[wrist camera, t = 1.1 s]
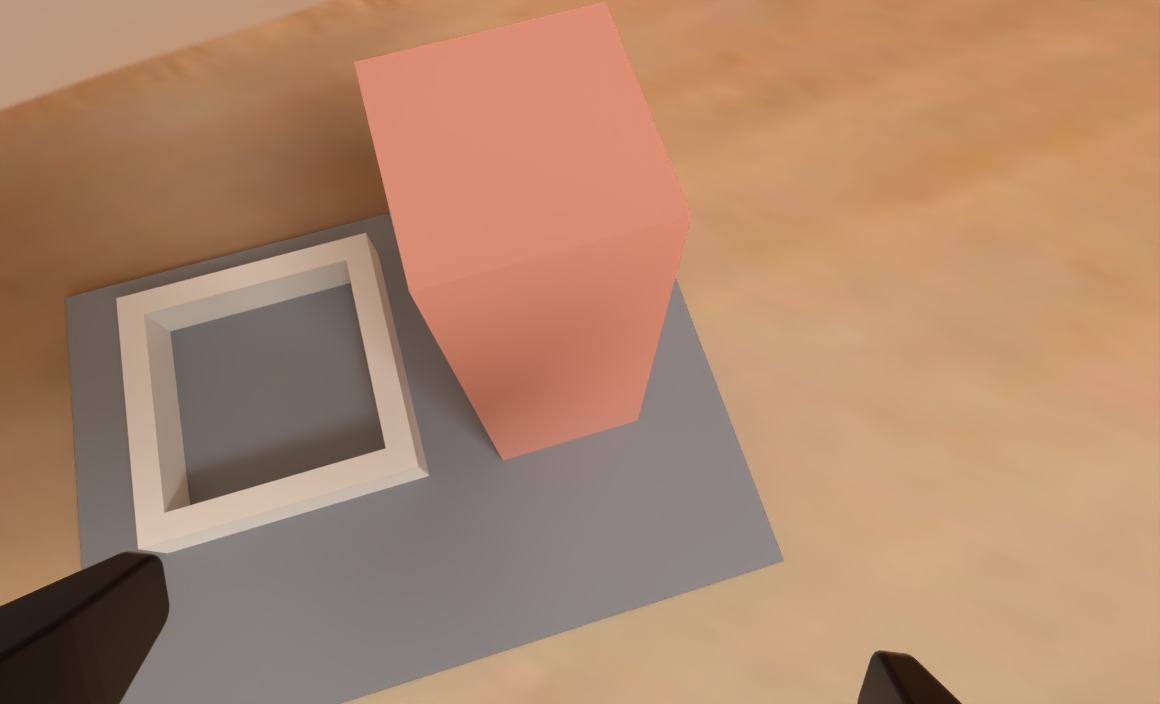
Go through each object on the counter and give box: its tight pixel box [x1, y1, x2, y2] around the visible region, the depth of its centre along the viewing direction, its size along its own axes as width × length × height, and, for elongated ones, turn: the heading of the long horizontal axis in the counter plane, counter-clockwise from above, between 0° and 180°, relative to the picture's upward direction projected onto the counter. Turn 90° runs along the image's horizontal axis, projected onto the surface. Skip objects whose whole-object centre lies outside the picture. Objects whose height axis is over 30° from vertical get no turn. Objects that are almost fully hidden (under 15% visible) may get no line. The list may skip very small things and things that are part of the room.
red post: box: [354, 2, 692, 460], centre depth 17 cm, size 4×4×12 cm
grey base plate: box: [65, 213, 784, 704], centre depth 22 cm, size 20×15×2 cm
